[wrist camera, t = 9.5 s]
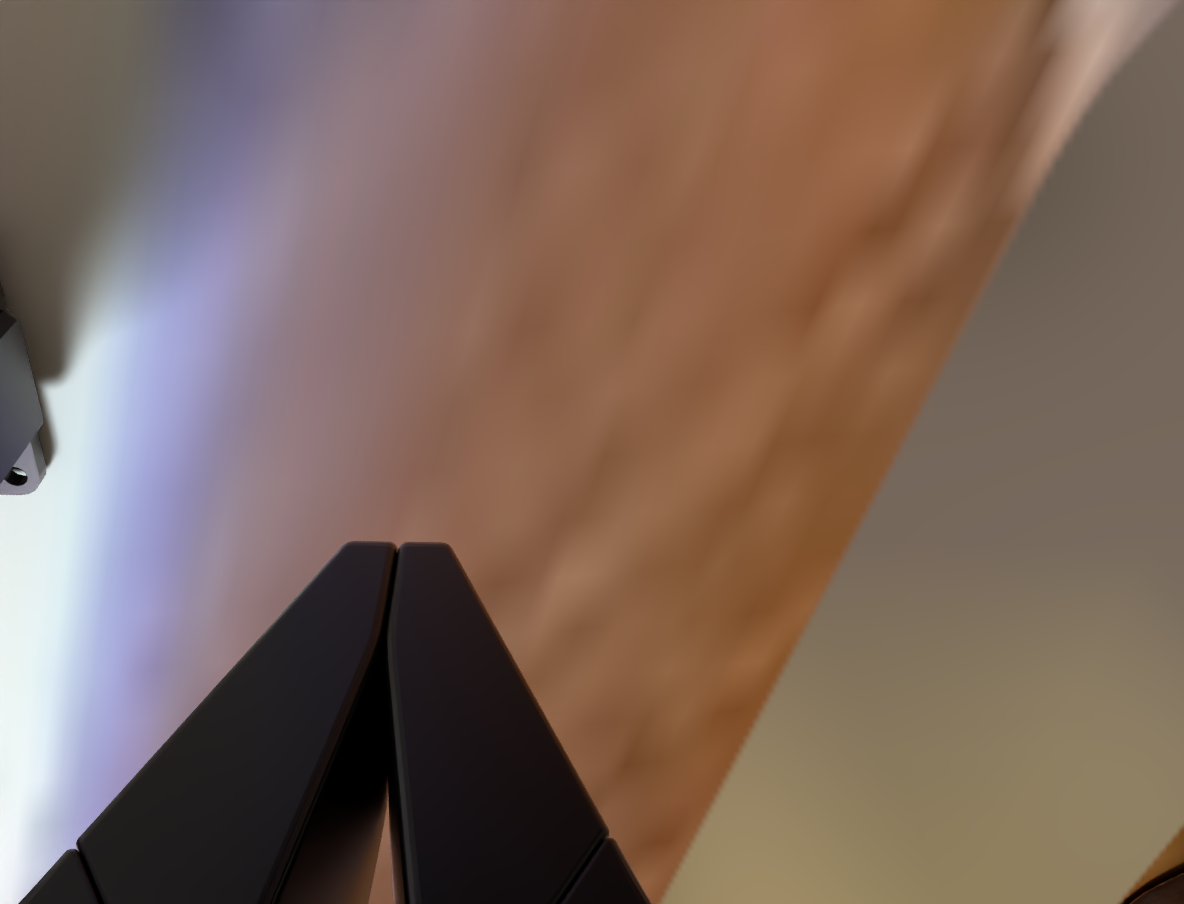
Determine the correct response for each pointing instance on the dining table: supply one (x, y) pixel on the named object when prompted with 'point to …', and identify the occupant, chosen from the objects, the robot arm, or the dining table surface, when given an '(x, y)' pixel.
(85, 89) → the dining table surface
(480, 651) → the robot arm
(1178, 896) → the brown tall piece
